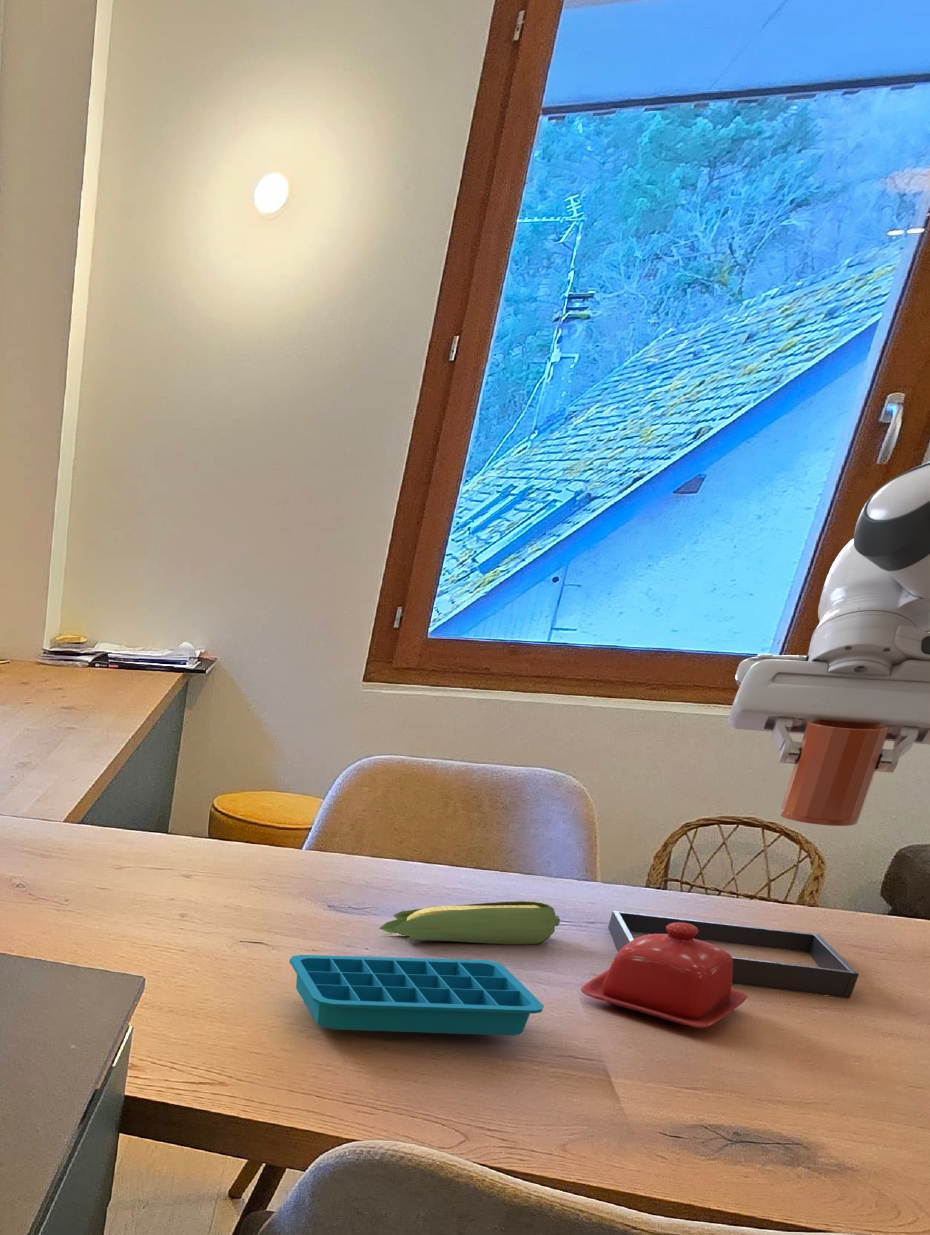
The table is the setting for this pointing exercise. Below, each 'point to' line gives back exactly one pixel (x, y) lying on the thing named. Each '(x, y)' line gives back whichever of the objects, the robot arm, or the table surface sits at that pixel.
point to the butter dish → (670, 978)
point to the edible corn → (478, 923)
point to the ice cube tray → (413, 994)
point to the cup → (833, 772)
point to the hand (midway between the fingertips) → (836, 764)
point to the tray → (822, 980)
